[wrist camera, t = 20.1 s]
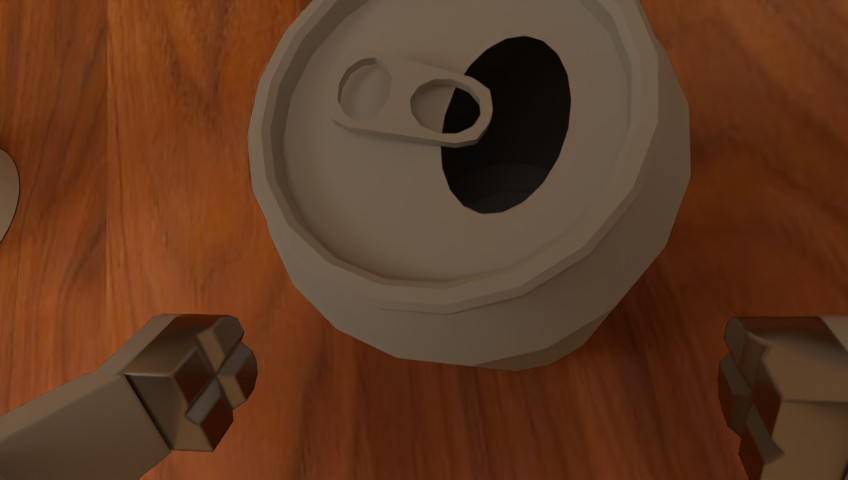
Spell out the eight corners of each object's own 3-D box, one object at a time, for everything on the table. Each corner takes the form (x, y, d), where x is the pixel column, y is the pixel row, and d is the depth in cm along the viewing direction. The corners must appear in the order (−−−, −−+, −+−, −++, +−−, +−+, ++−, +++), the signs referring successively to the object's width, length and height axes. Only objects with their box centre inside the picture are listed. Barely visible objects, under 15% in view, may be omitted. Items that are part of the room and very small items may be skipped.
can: (595, 398, 16) (679, 447, 5) (389, 341, 19) (133, 289, 7) (633, 188, 18) (765, -134, 6) (438, 160, 20) (287, -114, 9)
